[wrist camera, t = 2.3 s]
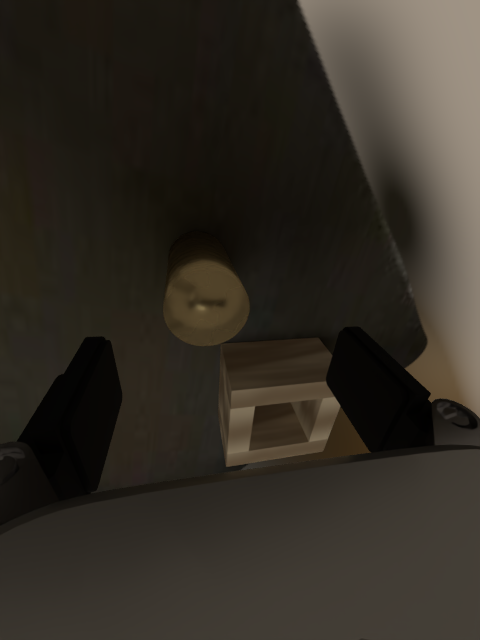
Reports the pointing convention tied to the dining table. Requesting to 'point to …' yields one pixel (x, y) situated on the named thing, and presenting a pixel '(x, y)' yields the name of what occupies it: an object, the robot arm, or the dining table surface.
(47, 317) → the dining table surface
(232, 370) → the frame
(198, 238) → the banded brass cylinder
